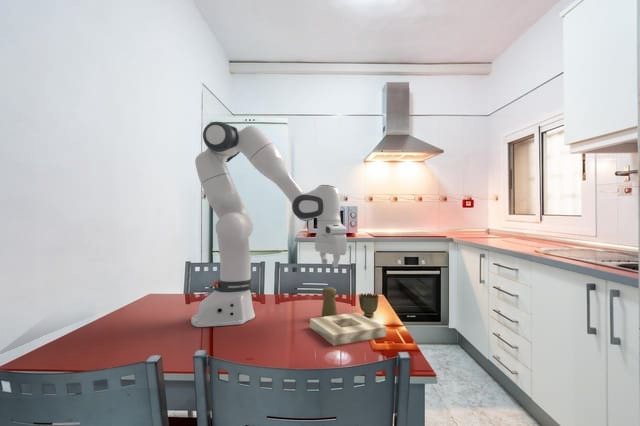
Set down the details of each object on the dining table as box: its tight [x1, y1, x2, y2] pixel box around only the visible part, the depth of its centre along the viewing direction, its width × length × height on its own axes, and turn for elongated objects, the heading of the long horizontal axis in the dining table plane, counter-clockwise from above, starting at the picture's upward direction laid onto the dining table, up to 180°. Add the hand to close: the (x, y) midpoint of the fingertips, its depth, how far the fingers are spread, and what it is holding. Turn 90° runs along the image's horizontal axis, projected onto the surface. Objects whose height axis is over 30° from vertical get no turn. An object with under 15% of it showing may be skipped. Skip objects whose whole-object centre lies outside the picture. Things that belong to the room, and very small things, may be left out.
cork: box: [320, 286, 338, 317], centre depth 124 cm, size 6×6×11 cm
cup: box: [358, 292, 379, 318], centre depth 125 cm, size 8×7×8 cm
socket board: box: [309, 312, 387, 346], centre depth 108 cm, size 18×18×3 cm
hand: (329, 265), depth 125 cm, fingers open, 8 cm apart
